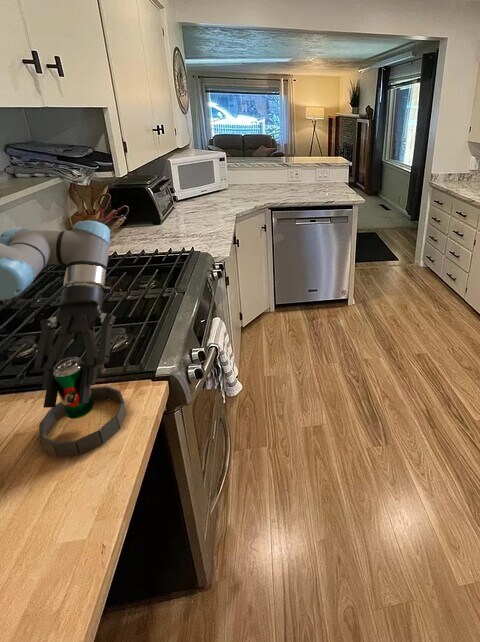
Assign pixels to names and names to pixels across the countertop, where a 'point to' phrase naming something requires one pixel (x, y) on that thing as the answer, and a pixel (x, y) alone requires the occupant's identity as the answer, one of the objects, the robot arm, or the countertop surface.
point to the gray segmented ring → (87, 441)
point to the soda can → (71, 387)
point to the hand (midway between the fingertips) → (66, 404)
